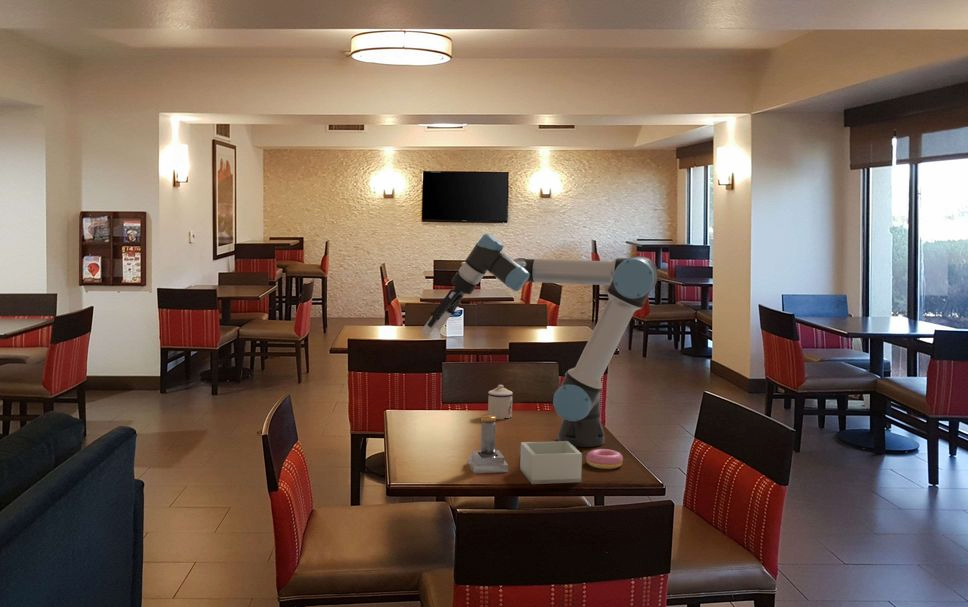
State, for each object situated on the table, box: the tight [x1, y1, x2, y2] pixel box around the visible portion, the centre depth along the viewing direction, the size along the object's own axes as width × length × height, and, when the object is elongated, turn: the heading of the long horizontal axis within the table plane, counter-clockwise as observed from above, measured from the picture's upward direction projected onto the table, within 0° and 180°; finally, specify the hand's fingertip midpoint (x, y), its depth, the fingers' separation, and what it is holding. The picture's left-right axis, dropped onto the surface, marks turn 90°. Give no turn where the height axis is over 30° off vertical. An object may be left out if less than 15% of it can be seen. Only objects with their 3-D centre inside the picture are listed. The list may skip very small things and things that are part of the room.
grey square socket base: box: [467, 449, 509, 474], centre depth 260 cm, size 10×10×4 cm
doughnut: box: [585, 448, 624, 470], centre depth 266 cm, size 11×11×4 cm
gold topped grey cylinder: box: [480, 414, 497, 457], centre depth 259 cm, size 5×5×13 cm
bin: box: [519, 440, 583, 485], centre depth 253 cm, size 14×14×8 cm
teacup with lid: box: [487, 384, 514, 420], centre depth 326 cm, size 12×9×12 cm
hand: (430, 330), depth 289 cm, fingers open, 13 cm apart
